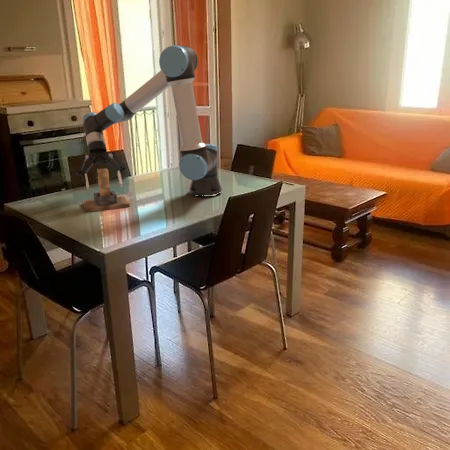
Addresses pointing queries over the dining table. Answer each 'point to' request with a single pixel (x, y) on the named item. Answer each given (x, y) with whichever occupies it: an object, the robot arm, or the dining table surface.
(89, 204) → the post base
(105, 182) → the tan tall block
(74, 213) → the dining table surface
